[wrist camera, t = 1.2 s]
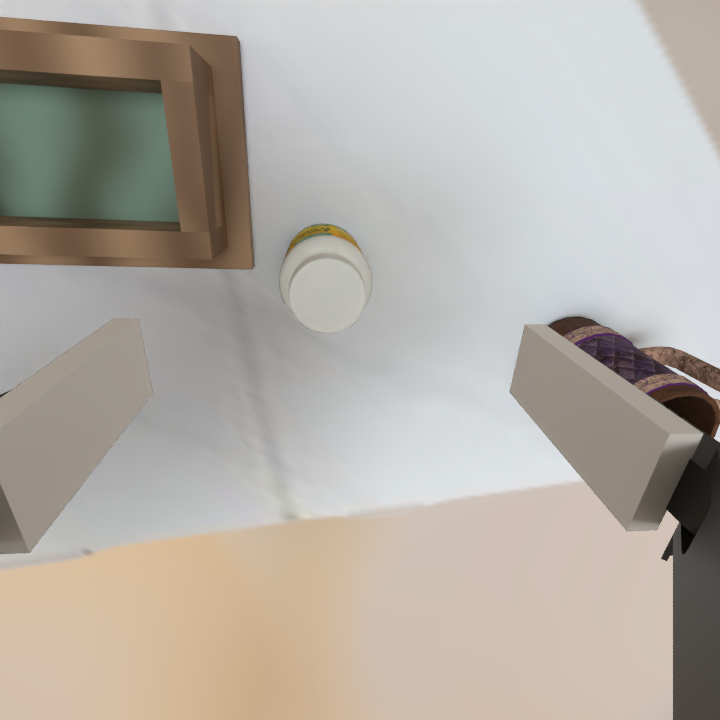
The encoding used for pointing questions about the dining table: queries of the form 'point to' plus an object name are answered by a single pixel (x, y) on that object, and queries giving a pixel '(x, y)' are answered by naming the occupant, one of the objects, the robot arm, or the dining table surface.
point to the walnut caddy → (122, 147)
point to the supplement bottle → (325, 279)
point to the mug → (651, 370)
